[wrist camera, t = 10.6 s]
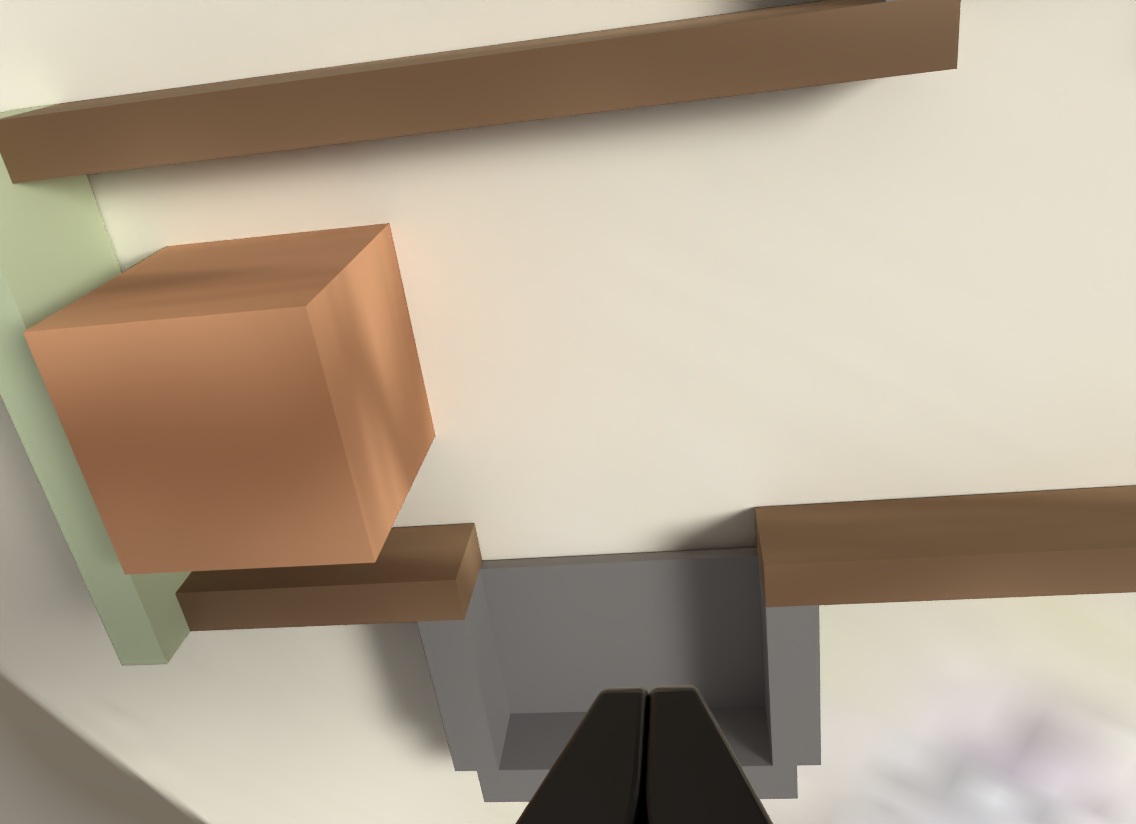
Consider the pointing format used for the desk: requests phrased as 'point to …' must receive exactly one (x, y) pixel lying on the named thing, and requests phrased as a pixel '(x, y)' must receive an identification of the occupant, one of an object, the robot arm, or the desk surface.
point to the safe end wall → (6, 367)
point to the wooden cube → (244, 401)
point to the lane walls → (571, 87)
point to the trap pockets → (624, 660)
